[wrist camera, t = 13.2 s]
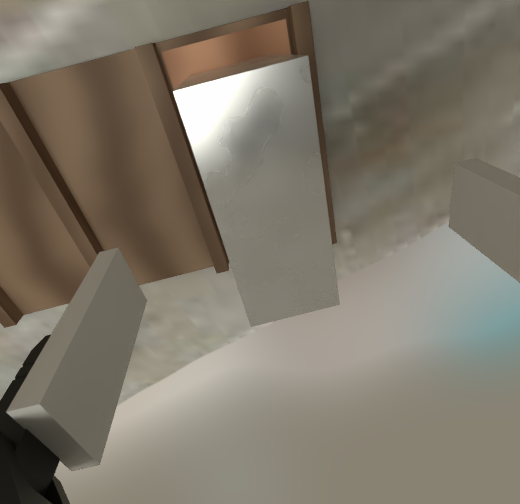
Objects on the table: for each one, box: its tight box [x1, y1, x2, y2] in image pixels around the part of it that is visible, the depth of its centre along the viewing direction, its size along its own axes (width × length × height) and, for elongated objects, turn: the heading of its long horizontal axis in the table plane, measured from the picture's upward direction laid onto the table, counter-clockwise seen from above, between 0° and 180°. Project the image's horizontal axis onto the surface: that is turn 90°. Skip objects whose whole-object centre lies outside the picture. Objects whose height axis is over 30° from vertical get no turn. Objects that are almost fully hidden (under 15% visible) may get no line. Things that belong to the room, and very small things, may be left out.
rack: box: [0, 1, 337, 328], centre depth 24 cm, size 28×16×2 cm, turn 103°
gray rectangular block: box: [173, 54, 340, 327], centre depth 19 cm, size 5×12×10 cm, turn 13°
